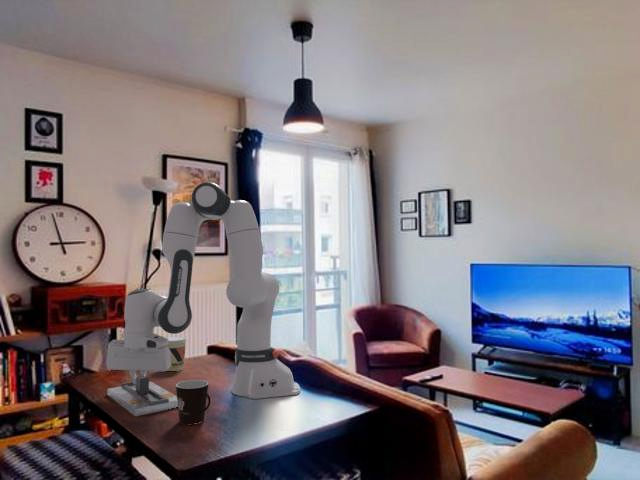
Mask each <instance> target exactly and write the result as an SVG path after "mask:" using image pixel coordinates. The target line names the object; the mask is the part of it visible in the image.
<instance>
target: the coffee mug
mask: <svg viewBox="0 0 640 480" xmlns="http://www.w3.org/2000/svg"><path fill="white" fill-rule="evenodd" d="M175 390H176V396H177V402H178V408H177V409H178V418H179V424H180V423H183V424H194V423H199V422H201V421H203V420H204V421H205V412H206V411H207V410H208V409H209V408H210V405H211V397H210V395H209V393H208V390H209V382H208V381H207V380H201V379H190V380H183V381H179V382H177V383H176V384H175ZM204 421H203V422H204ZM183 424H182V425H183Z"/></svg>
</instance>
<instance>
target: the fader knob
mask: <svg viewBox="0 0 640 480" xmlns="http://www.w3.org/2000/svg"><path fill="white" fill-rule="evenodd" d="M149 382H150V378H149V377H148V376H147V375H146V376H141V375H140V376H137V377H136V391H137V392H138V393H140V394H143V393H149Z"/></svg>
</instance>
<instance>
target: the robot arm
mask: <svg viewBox="0 0 640 480" xmlns="http://www.w3.org/2000/svg"><path fill="white" fill-rule="evenodd" d="M218 221H222V223H223V225H224V229H225V234H226V239H227V246H228V251H229V256H230V257H229V258H230V275H229V276H230V278H229V282H228V284H227V286H226V290H225V291H226V293H225V294H226V297H227V300H228V302H230V303H231V304H232V305H233V306H235V307H238V308H242V313H241V315H240V319H239V320H238V322H237V326H236V334H237V335H236V347H235V352H234V354H235V355H234V359H235V360H234V361H235V362H234V364H235V366H236V367H235V374H234V380H233V385H232V388H231V393H232V394H233V395H236V396H239V397H244V398H249V399H252V400H256V399H257V400H258V399H266V398H267V399H268V398H275V397H286V396H295V395H298V394H300V392H301V386H300V384H299V383H298V382H296V381H294V376H293V372H292V371H291V369H290V368H289V367H288V365H287V366H286V365H285V364H284V363H283V362H281V361H280V360H279V359H278V357H279V355H280V353H279V351H278V350H277V349H276V348H274V347H272V346H271V345H272V344H271V343H272V339H271V336H272V328H271V327H272V320H273V314H274V310H275V309H274V308H275V305H276V304H275V303H276V300H277V297H278V294H279V293H280V283H279V281H278V279H277V278H276V277H275V276H274V275H272V274H271V273H269V272H262V258H263V255H264V247H263V241H262V237H261V233H260V227H259V224H258V220H257V217H256V214H255V211H254V209H253V206H252V204H251V203H250V202H249V201H246V200H242V199H238V200H232V199H231V198H230V196H229V195H228V194H227V193H226V192H225V191H224V189H223V188H222V187H220V185H218V184H216V183H215V182H211V181H210V182H209V181H208V182H206V181H205V182H202V183H199V184H197V186H195V187H194V188H193V191H192V193H191V201H190V202H186V201H182V202H181V201H180V202H176V203H174V204H173V205H172V206H171V208H170V210H169V213H168V215H167V218H166V222H165V226H164V231H163V234H162V254H163V255H164V257H165V259H166V260H167V262H168V264H169V267H170V278H169V287H168V294H167V295H168V296H164V295H161V294H160V293H157V292H155V291H153V290H152V288H140V289H135V290H133V291H130V292H129V293H128V294H127V295H126V298H125V302H124V315H123V317H124V322H125V327H124V330H123V339H112V340H111V341H109V342H108V345H107V351H108V352H107V356H106V357H107V358H106V367H107V369H108V370H115V371H116V370H119V371H122V370H123V371H129V373H128V374H129V376H130V377H131V379H132V382H133V384H136V377H138V376H137V371H139V373H140V377H141V376H146V377H147V375H148V372H165V371H166V370H168V369H169V368H170V366H171V357H170V350H169V348H168V347H167V346H166V345H167V344H168V339H167V337H164V336H162V335H159V334H156V333H154V330H155V328H157V327H160V328H161V329H162V330H163V331H164V332H166V333H168V334H175V335H176V334H180V333H182V332H184V331H185V330H186V329H188V327H189V326H191V325H190V324H191V322H192V318H193V313H192V307H191V304H190V292H191V283H192V273H193V264H194V258H195V254H196V250H197V243H198V238H199V231H200V228H201V225H202V223H203V224H204V223H211V222H218Z"/></svg>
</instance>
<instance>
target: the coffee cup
mask: <svg viewBox="0 0 640 480" xmlns="http://www.w3.org/2000/svg"><path fill="white" fill-rule="evenodd" d="M166 338H167V339H168V344H167V345H166V346H167V347H168V348H169V350H170V357H171V366H170V368H169V369H168V370H166V371H177V372H181V371H183V370H184V366H185V355H186V342H187V339H186V338H185V337H183V336H168V337H166ZM180 370H181V371H180Z"/></svg>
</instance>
